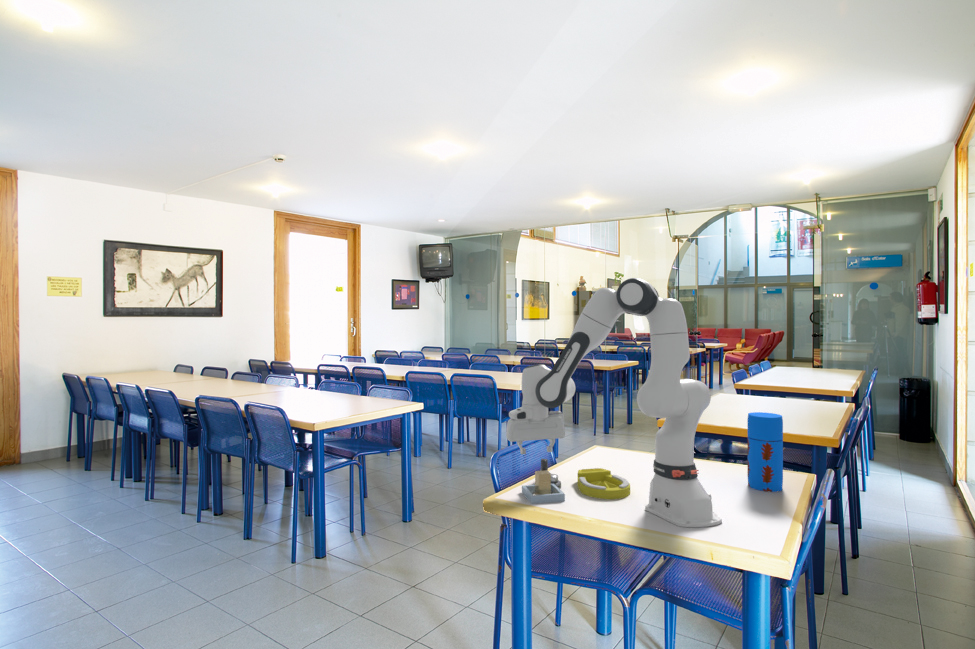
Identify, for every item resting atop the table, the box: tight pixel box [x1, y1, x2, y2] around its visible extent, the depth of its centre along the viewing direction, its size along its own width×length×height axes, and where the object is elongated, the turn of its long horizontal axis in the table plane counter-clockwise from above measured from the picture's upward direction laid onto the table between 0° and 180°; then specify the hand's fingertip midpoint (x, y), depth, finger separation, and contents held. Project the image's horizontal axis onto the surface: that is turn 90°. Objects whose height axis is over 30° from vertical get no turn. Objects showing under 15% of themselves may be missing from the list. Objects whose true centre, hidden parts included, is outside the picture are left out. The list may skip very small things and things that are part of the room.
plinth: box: [551, 479, 562, 490], centre depth 182 cm, size 6×16×2 cm, turn 102°
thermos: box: [747, 411, 784, 493], centre depth 183 cm, size 11×11×25 cm
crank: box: [539, 458, 559, 483], centre depth 186 cm, size 11×4×6 cm, turn 12°
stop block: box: [534, 470, 552, 495], centre depth 172 cm, size 4×4×8 cm
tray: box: [521, 484, 566, 504], centre depth 173 cm, size 11×11×3 cm
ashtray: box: [577, 467, 631, 500], centre depth 181 cm, size 16×21×5 cm
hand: (536, 452), depth 181 cm, fingers open, 8 cm apart
